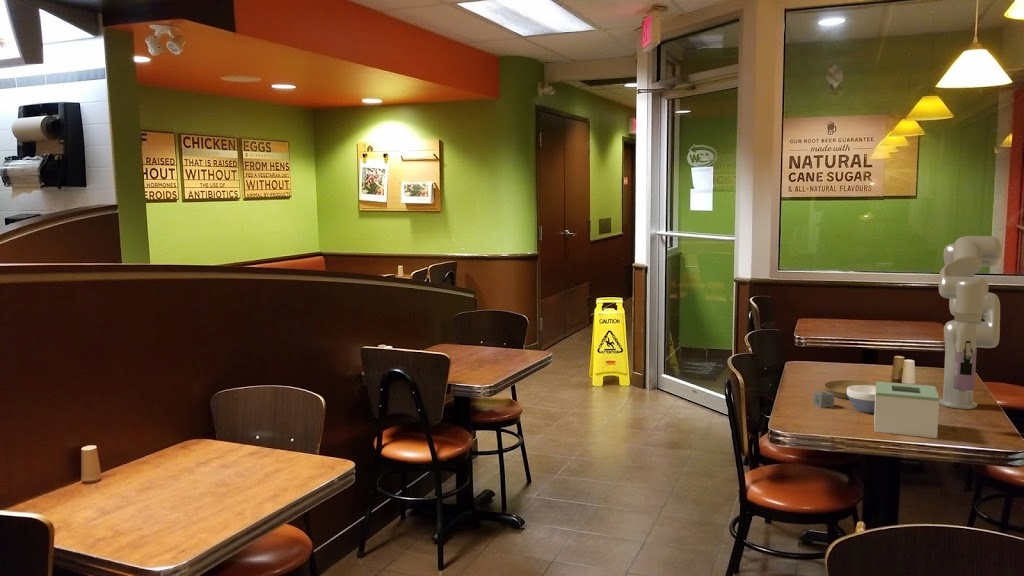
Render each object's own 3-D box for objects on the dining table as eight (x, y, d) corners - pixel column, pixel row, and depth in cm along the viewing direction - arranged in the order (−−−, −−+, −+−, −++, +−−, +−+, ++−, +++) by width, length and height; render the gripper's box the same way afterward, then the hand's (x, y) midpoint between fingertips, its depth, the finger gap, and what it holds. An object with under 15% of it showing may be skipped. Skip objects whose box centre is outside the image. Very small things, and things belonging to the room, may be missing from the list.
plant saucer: (866, 406, 288) (867, 397, 287) (810, 393, 308) (810, 384, 307) (903, 397, 301) (904, 389, 300) (847, 385, 321) (848, 377, 320)
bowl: (837, 407, 285) (837, 387, 284) (867, 403, 290) (868, 383, 289) (868, 417, 271) (869, 395, 271) (899, 413, 277) (900, 392, 276)
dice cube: (820, 408, 284) (821, 394, 284) (813, 404, 289) (814, 391, 289) (833, 407, 285) (834, 394, 284) (826, 404, 290) (826, 391, 289)
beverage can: (976, 392, 252) (979, 347, 250) (956, 392, 253) (959, 346, 251) (970, 388, 257) (972, 343, 255) (950, 387, 259) (952, 343, 257)
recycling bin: (874, 418, 270) (875, 381, 269) (932, 423, 263) (934, 386, 261) (874, 431, 254) (876, 392, 252) (937, 438, 246) (939, 398, 245)
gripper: (952, 313, 261) (949, 365, 264) (957, 321, 246) (953, 377, 248) (977, 314, 258) (974, 367, 261) (984, 323, 243) (981, 379, 245)
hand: (964, 371), depth 254 cm, fingers closed on beverage can, 6 cm apart
